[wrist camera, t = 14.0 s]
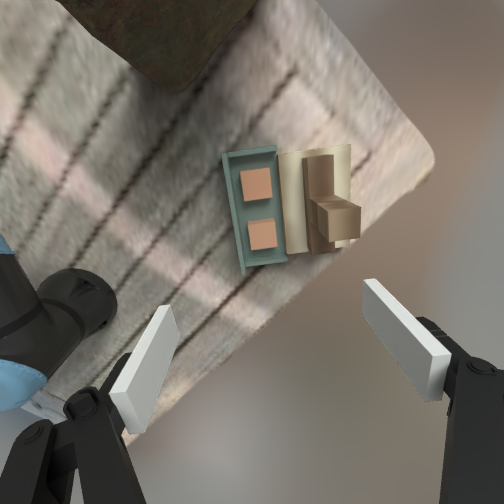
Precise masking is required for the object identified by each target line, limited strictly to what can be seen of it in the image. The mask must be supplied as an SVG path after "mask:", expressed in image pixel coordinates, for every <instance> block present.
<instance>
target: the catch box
mask: <svg viewBox="0 0 504 504" xmlns="http://www.w3.org/2000/svg"><path fill="white" fill-rule="evenodd" d="M277 150H278V149H277V145H275V146H268V147H261V148H254V149H247V150H241V151H234V152H225V153H221V156H222V162H223V168H224V174H225V180H226V186H227V192H228V197H229V203H230V209H231V215H232V221H233V227H234V233H235V238H236V244H237V250H238V256H239V262H240V268H241V274H246V267H249V266H257V265H264V264H272V263H280V262H287V261H288V260H287V256H286V252H285V242H284V231H283V220H282V209H281V198H280V188H279V177H278V166H277V155H276V151H277ZM264 167H269V168H270V177H271V187H272V198H265V199H258V200H250V201H244V195H243V189H242V182H241V175H240V171H243V170H250V169H257V168H264ZM270 218H274V220H275V227H276V237H277V246H278V247H272V248H264V249H257V250H251V244H250V237H249V230H248V221H255V220H262V219H270Z"/></svg>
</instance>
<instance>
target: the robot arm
mask: <svg viewBox="0 0 504 504" xmlns="http://www.w3.org/2000/svg"><path fill="white" fill-rule="evenodd" d="M15 255H16V253H15V252H14V251H12V250H11V248H10V247H9V245H8V244H7V242H6V241H5V239H4V237H3V236H2V235H1V234H0V413H1V412H7V411H11V410H14V409H16V408H18V407H20V406H22V405H24V404H25V403H26V402H27V401H28V400H29V399H30V398H31V397H32V396H33V395H34V394H35V393H36V392H37V391H38V390H39V389H40V388H42V387H43V386H44V385H45V384H46V383H47V381H48V380H49V379H50V377H51V376H52V375H53V374H54V373H55V372H56V370H57V369H58V368H59V367H60V366H61V365H62V363H63V362H64V361H65V360H66V359H67V358H68V356H69V355H70V354H71V353H72V352H73V351H74V349H75V348H76V347H77V346H78V345H79V344H80V343H81V341H82V340H84V339H86V338H88V337H89V336H91V335H93V334H95V333H96V332H98V331H100V330H102V329H103V328H104V327H105V326H107V325H108V323H109V322H110V321H111V320H112V318H113V317H114V315H115V313H116V310H117V300H116V297H115V294H114V292H113V290H112V289H111V287H110V286H109V285H108V284H107V283H106V282H105V281H104V280H103V279H102V278H100V277H99V276H97V275H95V274H93V273H91V272H89V271H86V270H82V269H74V268H71V269H63V270H60V271H58V272H56V273H54V274H53V275H51V276H49V277H48V278H46V279H45V280H44V281H43V282H42V283H41V285H40V286H39V288H38V289H37V291H36V292H35V290H34V288H33V286H32V285H31V283H30V281H29V279H28V278H27V276H26V274H25V272H24V271H23V269H22V267H21V265H20V264H19V262H18V260H17V259H16V257H15ZM362 315H363V316H364V317H365V319H366V320H367V322H368V323H369V325H370V326H371V327H372V329H373V330H374V332H375V333H376V334H377V336H378V337H379V338H380V340H381V341H382V343H383V344H384V346H385V347H386V348H387V350H388V351H389V353H390V354H391V356H392V357H393V358H394V360H395V361H396V362H397V364H398V365H399V367H400V368H401V370H402V371H403V372H404V374H405V375H406V377H407V378H408V379H409V381H410V382H411V384H412V385H413V386H414V388H415V389H416V391H417V392H418V394H419V395H420V396H421V398H422V399H423V400H424V402H430V401H439V400H442V396H443V391H444V392H445V393H446V394H447V395H448V396H449V398H450V403H449V407H448V412H447V416H448V422H447V431H446V441H445V451H444V461H443V471H442V482H441V490H440V491H441V492H440V500H439V504H504V370H500V369H497V368H496V367H495V366H494V365H492V364H491V363H489V362H487V361H485V360H483V359H480V358H476V357H471V356H470V355H469V354H468V353H466V351H464V350H463V349H462V348H461V347H460V346H459V345H458V344H457V343H456V342H455V341H453V340H452V339H451V338H450V337H449V336H447V334H446V333H444V331H442V330H441V329H440V328H439V327H438V326H437V325H436V324H435V323H434V322H432V321H430V320H428V319H427V318H425V317H414V316H412V315H411V314H410V313H409V312H408V311H407V310H406V309H405V308H404V307H403V306H402V305H401V304H400V303H399V302H398V301H397V300H396V299H395V298H394V297H393V296H392V295H391V294H390V293H389V292H388V291H387V290H386V289H385V288H384V287H383V286H382V285H381V284H380V283H379V282H378V281H377V280H376V279H368V280H364V281H363V305H362ZM179 338H180V335H179V332H178V328H177V325H176V322H175V318H174V315H173V312H172V309H171V305H163V306H159V307H158V309H157V311H156V313H155V314H154V316H153V318H152V319H151V321H150V323H149V325H148V326H147V328H146V330H145V332H144V333H143V335H142V337H141V339H140V340H139V342H138V344H137V345H136V347H135V349H134V351H133V352H131V353H125V354H124V355H123V356H122V357H121V358H120V359H119V360H118V361H117V363H116V364H115V366H114V367H113V370H112V371H111V372H110V374H109V377H107V379H106V380H105V382H104V383H103V385H102V387H101V388H100V390H99V391H98V390H97V388H96V387H92V386H91V387H86V388H83V389H81V390H79V391H77V392H76V393H75V394H73V395H72V396H71V397H70V398H69V399H68V400H67V401H66V403H65V404H64V407H63V412H64V414H65V415H66V417H67V418H68V420H66V421H63V422H60V423H58V424H55V425H53V423H52V422H51V421H50V420H49V419H43V420H40V421H37V422H35V423H34V424H32V425H30V426H29V427H27V428H26V429H25V430H24V431H22V433H21V434H20V435H19V436H18V437H17V438H16V441H15V442H14V443H13V446H12V449H11V451H10V454H9V456H8V459H7V461H6V464H5V466H4V469H3V472H2V474H1V477H0V504H70V500H71V493H72V486H73V480H74V473H75V469H77V468H78V470H79V476H80V482H81V488H82V494H83V500H84V504H146V501H145V498H144V496H143V493H142V490H141V487H140V485H139V482H138V479H137V477H136V474H135V471H134V468H133V465H132V462H131V460H130V457H129V454H128V451H127V449H126V446H125V443H124V440H123V438H122V436H121V434H122V432H123V430H124V428H125V427H126V429H127V431H128V433H129V434H137V433H145V430H146V428H147V425H148V422H149V420H150V417H151V414H152V411H153V409H154V406H155V403H156V401H157V398H158V395H159V392H160V390H161V387H162V384H163V382H164V379H165V376H166V373H167V371H168V368H169V365H170V362H171V360H172V357H173V354H174V352H175V349H176V346H177V343H178V341H179Z"/></svg>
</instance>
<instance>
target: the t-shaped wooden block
mask: <svg viewBox="0 0 504 504" xmlns="http://www.w3.org/2000/svg"><path fill="white" fill-rule="evenodd" d="M302 168H303V184H304V201H305V218H306V235H307V247H308V249H309V251H310V252H311V254H312V255H316V254H323V253H331V252H335V241H341V240H349V239H356V238H360V226H361V207H359V206H357V205H355V204H353V203H351V202H349V201H347V200H345V199H343V198H341V197H339V196H336V195H334V155H330V154H325V155H319V156H312V157H305V158H302Z"/></svg>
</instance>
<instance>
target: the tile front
mask: <svg viewBox="0 0 504 504" xmlns="http://www.w3.org/2000/svg"><path fill="white" fill-rule="evenodd" d="M240 175H241V182H242V189H243V195H244V201H250V200H258V199H265V198H272V187H271V177H270V168H269V167H264V168H257V169H250V170H243V171H240Z"/></svg>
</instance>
